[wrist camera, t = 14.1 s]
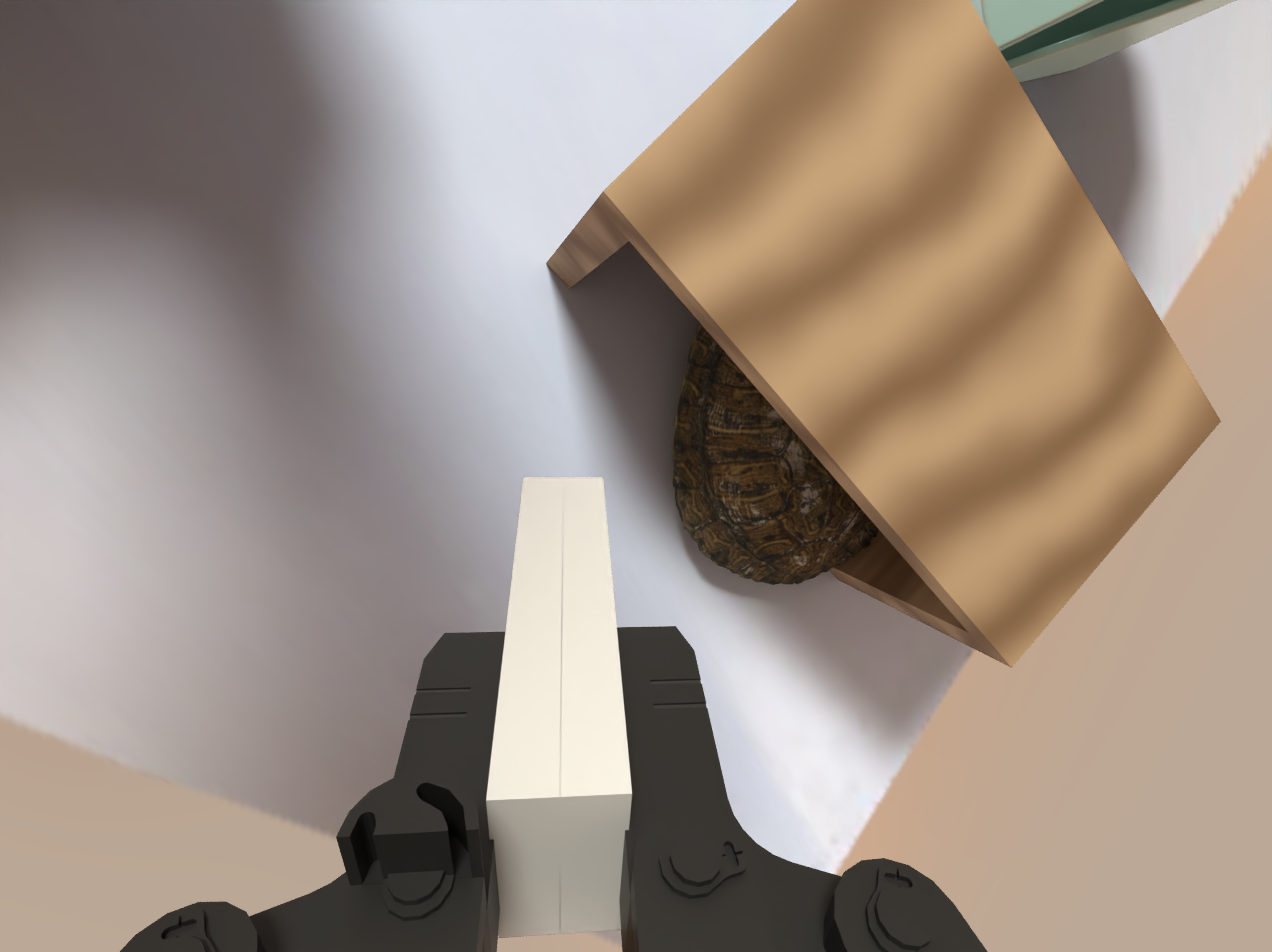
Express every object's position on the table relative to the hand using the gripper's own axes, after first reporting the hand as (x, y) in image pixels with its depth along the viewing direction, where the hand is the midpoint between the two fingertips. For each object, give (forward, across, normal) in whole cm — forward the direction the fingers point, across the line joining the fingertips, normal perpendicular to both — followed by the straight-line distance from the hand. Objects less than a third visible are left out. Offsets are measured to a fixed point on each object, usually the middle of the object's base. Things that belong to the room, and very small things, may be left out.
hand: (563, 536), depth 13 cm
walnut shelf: (+31, +15, -7) cm, 35 cm away
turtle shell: (+29, +14, -12) cm, 34 cm away
